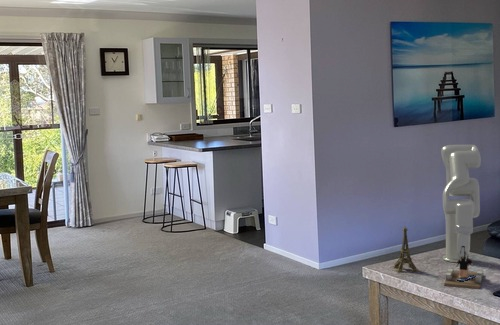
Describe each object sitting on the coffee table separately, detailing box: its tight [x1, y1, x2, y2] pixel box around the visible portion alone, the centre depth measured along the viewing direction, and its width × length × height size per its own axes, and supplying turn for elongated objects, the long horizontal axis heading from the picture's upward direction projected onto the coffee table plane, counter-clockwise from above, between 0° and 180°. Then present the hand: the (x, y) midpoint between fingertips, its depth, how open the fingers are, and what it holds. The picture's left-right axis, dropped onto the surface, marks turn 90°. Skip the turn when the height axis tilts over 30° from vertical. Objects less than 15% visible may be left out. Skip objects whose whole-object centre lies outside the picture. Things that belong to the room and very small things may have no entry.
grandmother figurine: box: [455, 253, 474, 278], centre depth 295 cm, size 8×4×13 cm, turn 93°
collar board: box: [443, 267, 484, 290], centre depth 295 cm, size 22×15×4 cm
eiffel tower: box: [391, 227, 420, 273], centre depth 316 cm, size 11×11×25 cm
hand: (464, 267), depth 295 cm, fingers open, 5 cm apart
